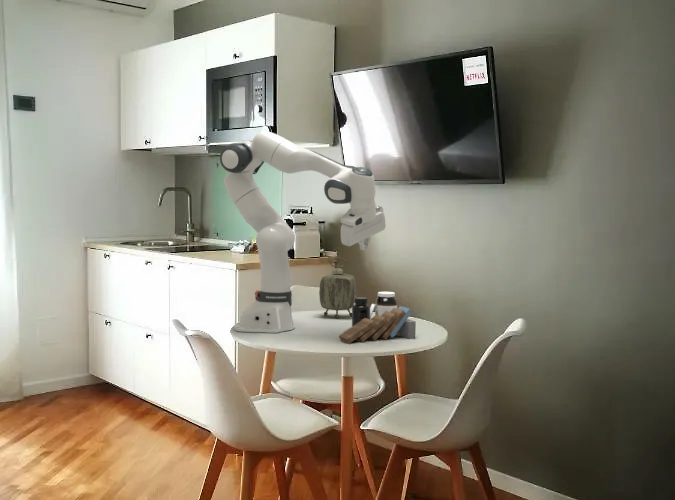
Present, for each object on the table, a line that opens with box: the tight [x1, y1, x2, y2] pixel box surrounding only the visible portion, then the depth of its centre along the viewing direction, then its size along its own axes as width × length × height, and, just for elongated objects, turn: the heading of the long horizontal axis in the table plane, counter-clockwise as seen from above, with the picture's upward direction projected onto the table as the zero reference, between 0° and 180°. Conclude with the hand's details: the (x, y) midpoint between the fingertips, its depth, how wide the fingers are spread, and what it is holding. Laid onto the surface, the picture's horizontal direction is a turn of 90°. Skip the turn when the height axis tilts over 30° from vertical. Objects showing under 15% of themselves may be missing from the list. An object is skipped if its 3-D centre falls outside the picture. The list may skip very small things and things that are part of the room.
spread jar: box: [369, 291, 398, 319], centre depth 273 cm, size 12×11×12 cm
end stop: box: [395, 318, 417, 340], centre depth 244 cm, size 3×10×6 cm, turn 29°
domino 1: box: [338, 318, 376, 344], centre depth 235 cm, size 2×6×12 cm
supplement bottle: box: [351, 296, 371, 327], centre depth 255 cm, size 7×7×12 cm
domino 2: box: [354, 314, 387, 343], centre depth 237 cm, size 2×6×12 cm
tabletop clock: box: [318, 256, 357, 319], centre depth 279 cm, size 14×9×25 cm, turn 82°
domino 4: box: [378, 308, 406, 341], centre depth 241 cm, size 2×6×12 cm
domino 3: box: [367, 311, 397, 342], centre depth 239 cm, size 2×6×12 cm
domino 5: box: [388, 305, 413, 339], centre depth 242 cm, size 2×6×12 cm
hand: (364, 248), depth 244 cm, fingers closed
